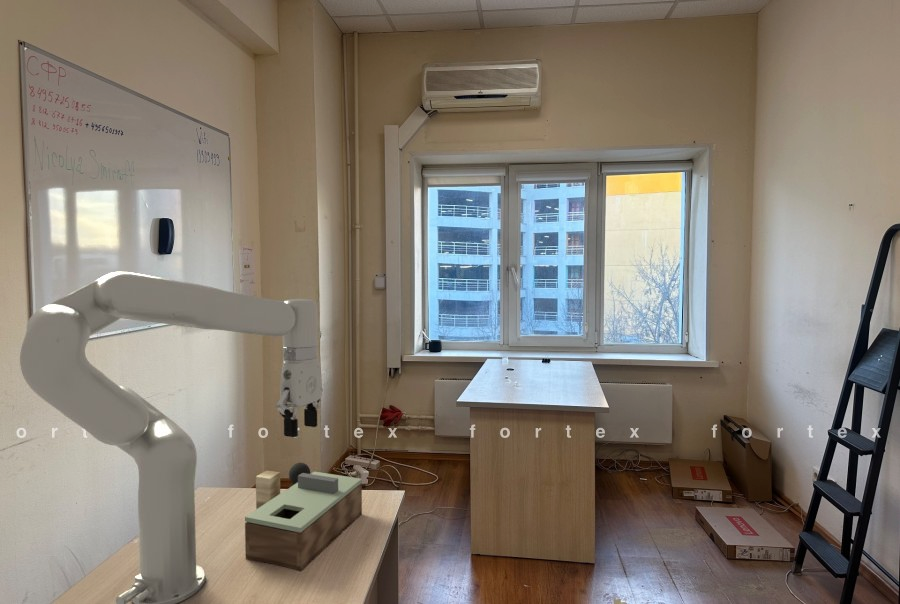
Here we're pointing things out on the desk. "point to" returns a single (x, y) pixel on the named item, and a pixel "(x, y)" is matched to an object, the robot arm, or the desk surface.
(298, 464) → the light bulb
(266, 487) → the block
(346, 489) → the lid
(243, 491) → the desk surface
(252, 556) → the brown wooden box
